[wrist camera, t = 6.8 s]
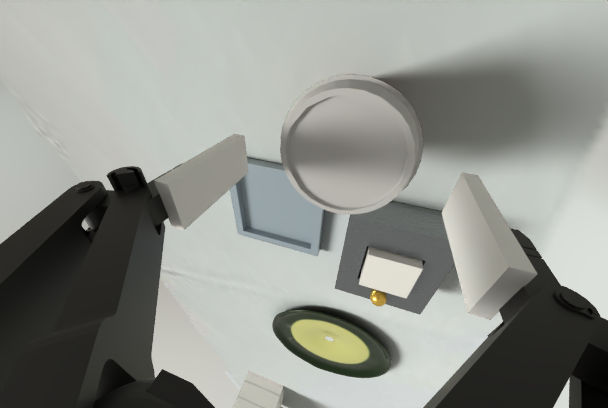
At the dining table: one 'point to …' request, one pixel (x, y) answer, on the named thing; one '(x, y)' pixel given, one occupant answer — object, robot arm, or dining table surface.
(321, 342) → the plate
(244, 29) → the dining table surface
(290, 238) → the tray
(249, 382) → the pizza boxes
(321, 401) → the dining table surface
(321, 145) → the disposable coffee cup
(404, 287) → the button
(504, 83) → the dining table surface
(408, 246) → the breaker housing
